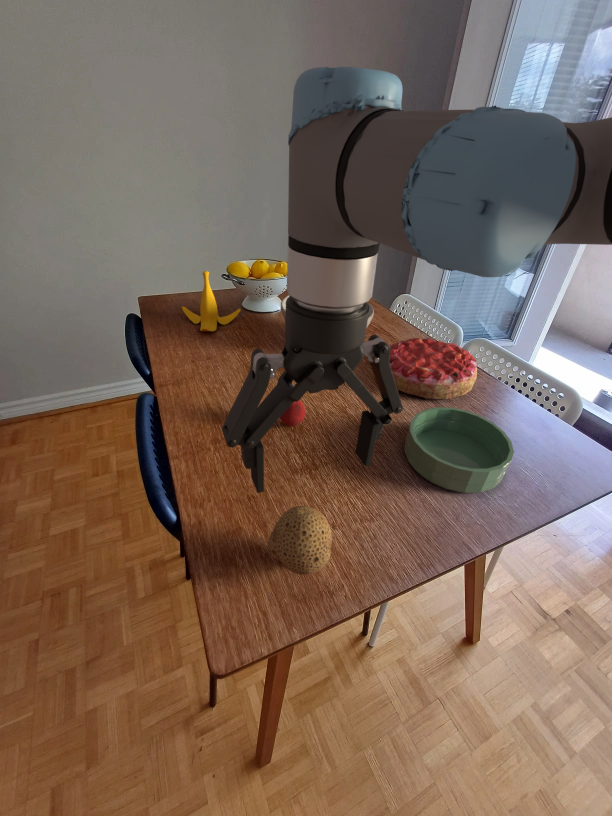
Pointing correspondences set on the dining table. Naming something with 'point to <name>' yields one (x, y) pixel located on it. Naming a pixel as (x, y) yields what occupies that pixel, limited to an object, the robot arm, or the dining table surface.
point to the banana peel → (208, 309)
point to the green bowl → (458, 449)
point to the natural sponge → (301, 540)
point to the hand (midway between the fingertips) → (312, 471)
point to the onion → (294, 414)
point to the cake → (432, 368)
